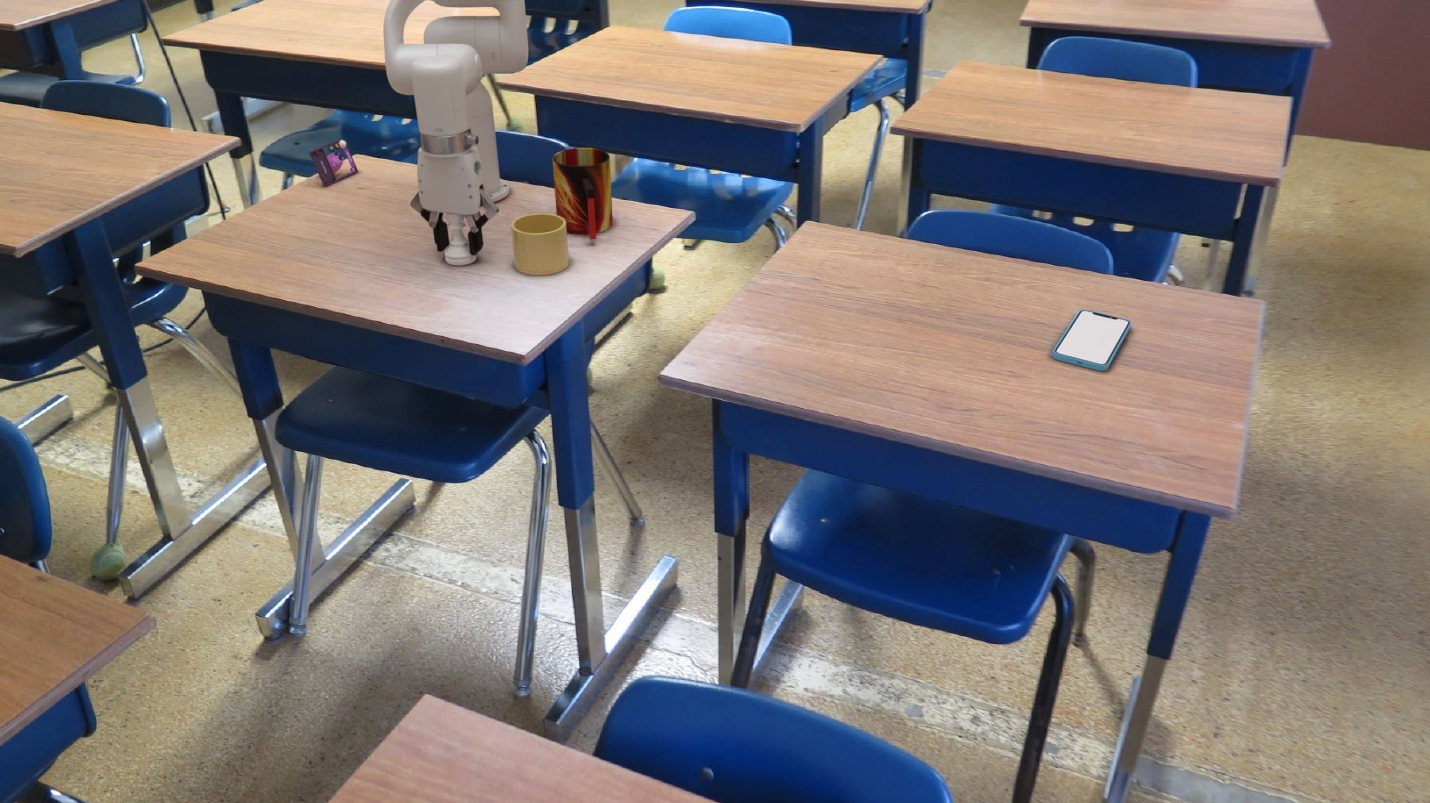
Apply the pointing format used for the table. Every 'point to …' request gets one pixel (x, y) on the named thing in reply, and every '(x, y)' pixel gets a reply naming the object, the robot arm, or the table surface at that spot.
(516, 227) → the yellow cup
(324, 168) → the game card
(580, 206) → the mug
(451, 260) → the chess pawn
